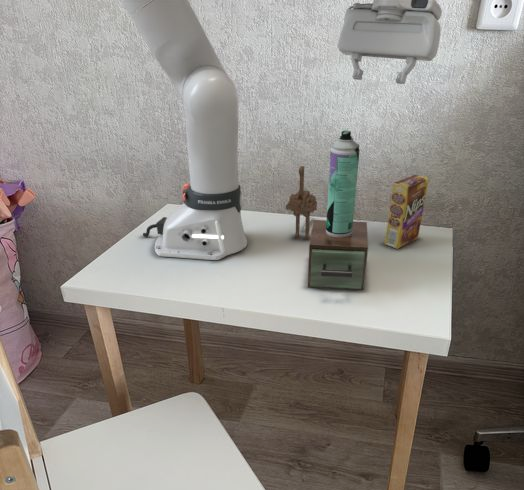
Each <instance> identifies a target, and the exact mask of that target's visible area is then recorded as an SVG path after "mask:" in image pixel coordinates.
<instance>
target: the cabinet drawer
mask: <svg viewBox="0 0 524 490" xmlns="http://www.w3.org/2000/svg"><path fill="white" fill-rule="evenodd" d="M364 256H365V252H364V251H358V250H336V249H312V257H311V281H310V286H314V287H333V288H351V289H361V285H362V275H363V266H364Z"/></svg>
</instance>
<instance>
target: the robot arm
mask: <svg viewBox="0 0 524 490" xmlns="http://www.w3.org/2000/svg"><path fill="white" fill-rule="evenodd" d="M120 1H121V3H122V6H123V7H124V9H125V10H126V12H127V14H128V15H129V16H130V19H131V20H132V22H133V23H134V25H135V27H136V29H137V30H138V32H139V34H140V35H141V37H142V39H143V40H144V42H145V43H146V45H147V47H148V48H149V50H150V52H151V53H152V55H153V56H154V58H155V59H156V61H157V63H158V64H159V65H160V67H161V68H162V70H163V71H164V73H165V74H166V76H167V77H168V79H169V81H170V82H171V84H172V85H173V87H174V88H175V90H176V92H177V93H178V95H179V96H180V99H181V101H182V102H183V108H184V119H185V122H184V123H185V133H186V146H187V148H186V149H187V161H188V171H189V172H188V173H189V183H184V185H182V189H181V190H182V201H183V203H182V204H181V205H180V206H178V207H177V208H176V209H175V210H173V212H171V213H170V214H169V215H168V216H167V217H166V216H163V217H161V219H159V220H158V221H157V222H156V223H153V224H150V225H148V226H147V228H146V231H145V232H142V237H145V238H146V237H148V236H149V235H150V233H151V230H152V229H155V228H156V231H157V235H158V236H157V238H156V240H155V241H154V253H156V255H157V256H159V257H168V258H177V259H178V258H181V259H193V260H205V261H219V260H222V259H223V258H225V257H227V256H230V255H233V254H237V253H239V252H240V251H243V250H244V249H246V247H247V245H248V239H247V237H246V233H245V230H244V225H243V219H242V213H241V212H242V208H243V205H242V203H243V202H242V201H243V199H242V189H241V188H242V187H241V185H240V184H239V183H240V182H239V162H238V161H239V159H238V144H239V143H238V142H239V93H238V89H237V87H236V85H235V83H234V81H233V80H232V79H231V78H230V76H229V74H228V73H227V71H226V69H225V68H224V66H223V64H222V62H221V60H220V59H219V57H218V54H217V53H216V51H215V48H214V47H213V45H212V43H211V41H210V39H209V38H208V36H207V33H206V32H205V29H204V28H203V26H202V24H201V22H200V20H199V18H198V17H197V14H196V13H195V11H194V9H193V7H192V5H191V3H190V2H189V0H120ZM442 14H443V11H442V7H441V5H440V4H439V2H438V1H437V0H373V2H372V3H360V2H357V3H353V5H350V6H349V7H348V8H347V9H346V10H345V13H344V18H343V24H342V27H341V30H340V33H339V37H338V40H337V48H338V51H339V52H340V53H341V54H343V55H345V56H351V57H350V60H351V65H352V67H353V71H352V79H353V80H356V81H361V80H363V76H364V73H365V72H364V70H363V69H361V68H360V63H361V62H362V59H363V57H368V58H380V59H381V58H382V59H395V60H405V63H406V65H405V67H404V68H403V70H402V71H401V72H399V71H398V72H397V74H396V78H395V83H396V84H399V85H405V84H406V81H407V78H408V75H409V74H410V73H411V72H412V71H413V70H414V68H415V67H416V64H417V61H421V62H422V61H423V62H431V61H433V60H434V59H435V58H436V56H437V54H438V50H439V46H440V45H439V44H440V39H441V31H442V30H441V24H440V22H439V20H440V19H441V17H442Z"/></svg>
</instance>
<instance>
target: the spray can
mask: <svg viewBox="0 0 524 490" xmlns="http://www.w3.org/2000/svg"><path fill="white" fill-rule="evenodd" d="M360 150H361V149H360V143H357V142H356V141H355V140H354V138H353V137H352V132H351V131H350V130H343V131H341V134H340V136H339V137H338V139H337V140H336V141H334V142H333V143H331V147H330V156H329V172H328V187H327V188H328V189H327V206H326V233H327V234H328V235H329V236H332V237H339V238H342V237H348V236H350V235H351V234H352V229H353V222H354V218H355V217H354V215H355V205H356V193H357V182H358V171H359V161H360Z"/></svg>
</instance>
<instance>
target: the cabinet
mask: <svg viewBox="0 0 524 490" xmlns="http://www.w3.org/2000/svg"><path fill="white" fill-rule="evenodd" d="M326 221H327V219H325V220H324V219H313V220H312V227H311V232H310V237H309V238H310V239H309V245H308V267H307V268H308V270H307V288H315V289H334V290H350V291H364V290H365V289H364V288H365V281H366V280H365V279H366V273H367V272H366V270H367V263H368V262H367V261H368V254H369V253H368V251H369V241H368V240H369V239H368V238H369V237H368V222H367V221H353V229H352V234H351V235H350V236H348V237H342V238H339V237H332V236H329V235H328V234H327V233H326ZM312 249H336V250H358V251H364V252H365V256H364V266H363V275H362V285H361V289H351V288H333V287H314V286H310V281H311V257H312Z"/></svg>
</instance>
